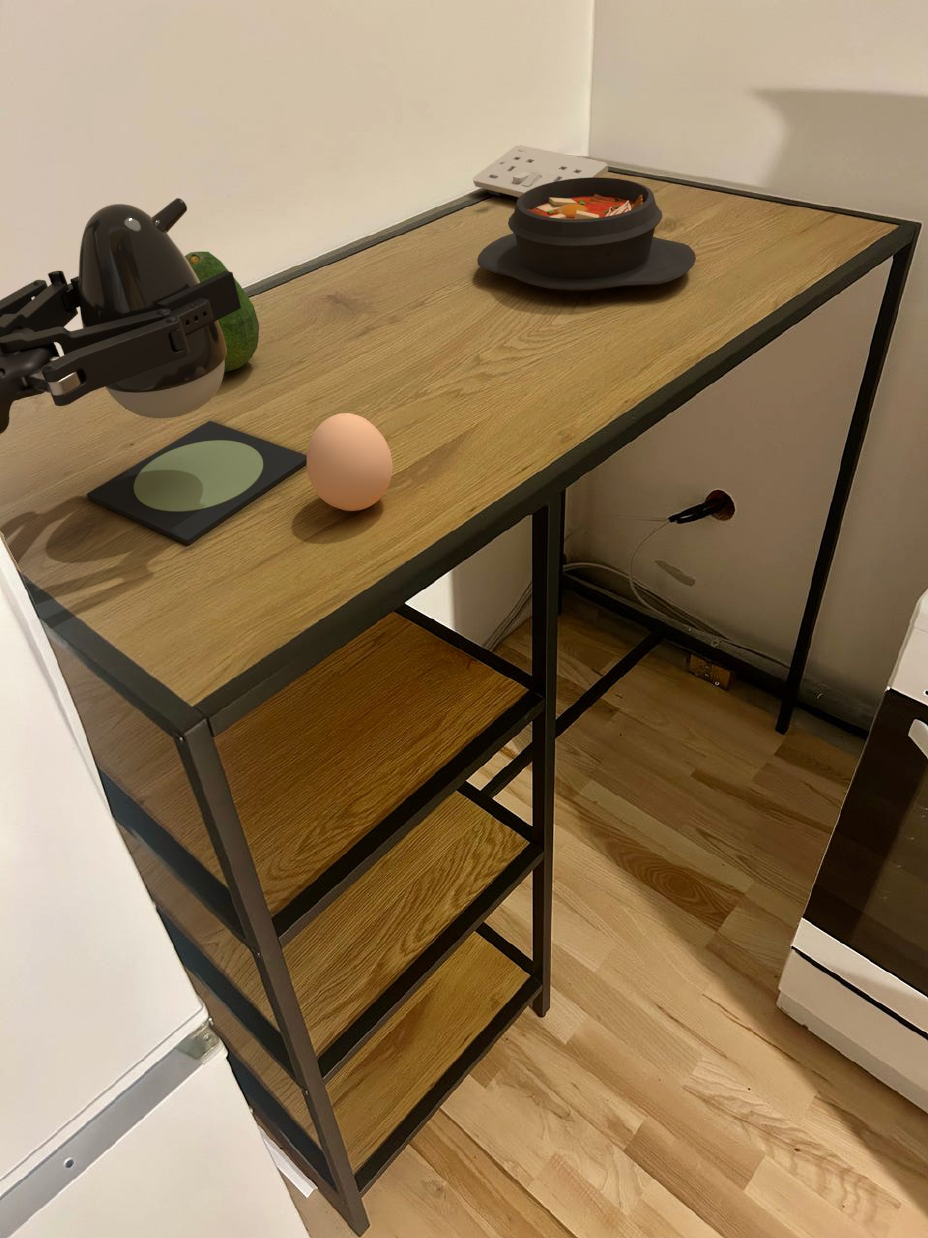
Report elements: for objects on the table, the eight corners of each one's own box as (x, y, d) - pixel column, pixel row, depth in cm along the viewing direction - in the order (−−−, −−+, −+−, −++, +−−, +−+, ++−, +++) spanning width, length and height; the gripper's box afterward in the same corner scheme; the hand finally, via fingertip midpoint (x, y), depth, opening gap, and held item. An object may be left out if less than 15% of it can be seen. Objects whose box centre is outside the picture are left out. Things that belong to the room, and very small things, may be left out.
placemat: (88, 498, 78) (85, 492, 78) (211, 424, 86) (209, 419, 86) (188, 545, 72) (186, 539, 72) (311, 461, 80) (309, 455, 80)
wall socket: (622, 179, 127) (619, 149, 124) (564, 231, 120) (560, 201, 117) (512, 172, 136) (508, 144, 134) (453, 220, 129) (447, 191, 127)
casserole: (710, 251, 108) (718, 175, 103) (671, 316, 96) (677, 234, 90) (512, 237, 117) (509, 166, 111) (452, 295, 104) (446, 219, 99)
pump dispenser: (264, 397, 74) (215, 197, 64) (146, 449, 69) (73, 242, 59) (201, 361, 80) (148, 173, 70) (89, 406, 75) (14, 212, 65)
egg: (389, 529, 71) (375, 439, 66) (307, 528, 72) (286, 440, 67) (404, 481, 76) (392, 395, 71) (326, 481, 77) (309, 395, 72)
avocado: (176, 376, 95) (139, 259, 87) (232, 346, 99) (203, 231, 91) (228, 394, 91) (195, 273, 83) (285, 361, 95) (258, 243, 87)
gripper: (-136, 415, 66) (116, 300, 79) (43, 502, 55) (300, 352, 68) (-193, 314, 61) (85, 209, 74) (-10, 388, 50) (279, 249, 63)
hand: (188, 278), depth 71 cm, fingers closed on pump dispenser, 10 cm apart
